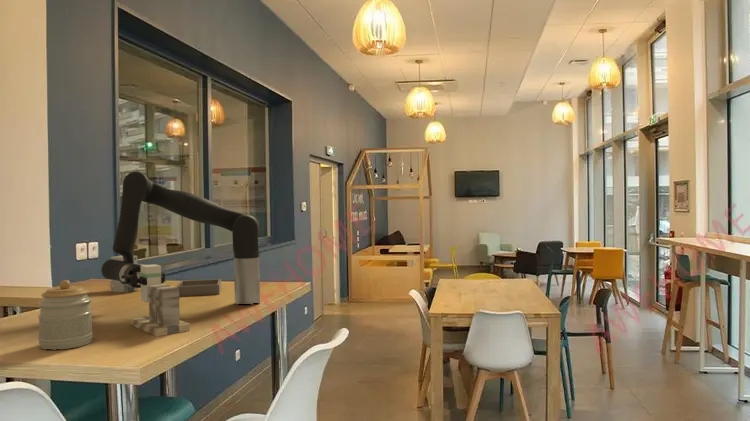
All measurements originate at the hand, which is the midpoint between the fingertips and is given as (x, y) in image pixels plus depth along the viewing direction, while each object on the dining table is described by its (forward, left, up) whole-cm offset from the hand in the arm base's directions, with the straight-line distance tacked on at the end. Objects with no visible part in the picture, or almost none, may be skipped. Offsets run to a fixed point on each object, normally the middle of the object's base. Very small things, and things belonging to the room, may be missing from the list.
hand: (154, 280), depth 172 cm
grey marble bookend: (-2, +3, -14) cm, 14 cm away
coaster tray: (-8, -63, -14) cm, 65 cm away
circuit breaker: (+22, -76, -14) cm, 81 cm away
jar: (+20, +17, -14) cm, 30 cm away
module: (+1, -2, -6) cm, 7 cm away
